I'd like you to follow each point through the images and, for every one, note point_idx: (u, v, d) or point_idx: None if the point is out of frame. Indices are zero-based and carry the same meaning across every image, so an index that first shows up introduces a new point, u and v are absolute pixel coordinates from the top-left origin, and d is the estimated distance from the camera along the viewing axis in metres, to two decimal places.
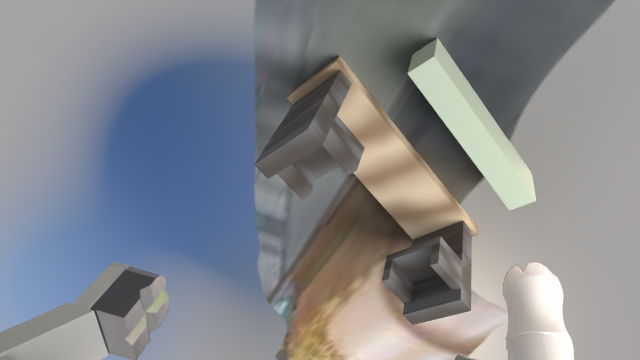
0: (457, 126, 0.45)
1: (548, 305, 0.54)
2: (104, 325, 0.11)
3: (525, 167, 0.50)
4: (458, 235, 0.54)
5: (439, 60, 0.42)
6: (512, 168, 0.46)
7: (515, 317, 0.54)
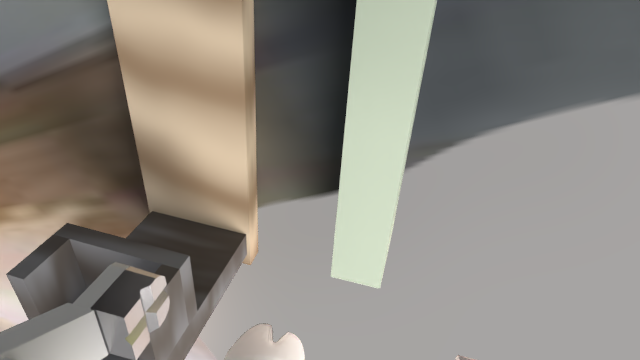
0: (366, 85, 0.19)
1: None
2: (104, 325, 0.11)
3: (393, 223, 0.28)
4: (222, 255, 0.29)
5: None
6: (390, 222, 0.23)
7: None
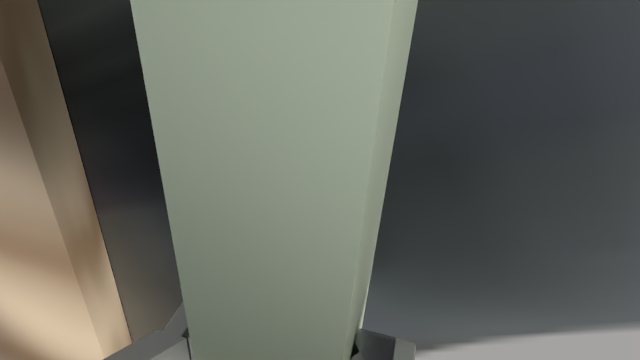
0: (228, 354, 0.08)
1: None
2: None
3: None
4: None
5: None
6: None
7: None
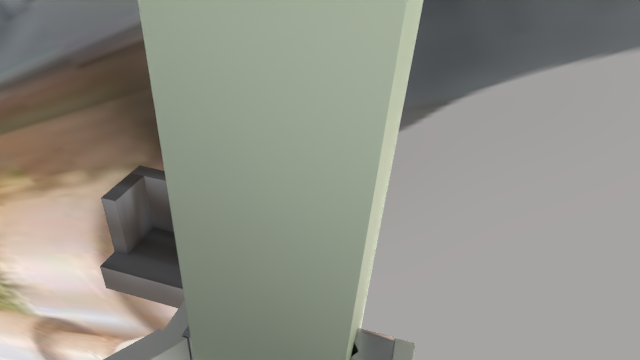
0: (230, 356, 0.08)
1: None
2: None
3: None
4: None
5: None
6: None
7: None
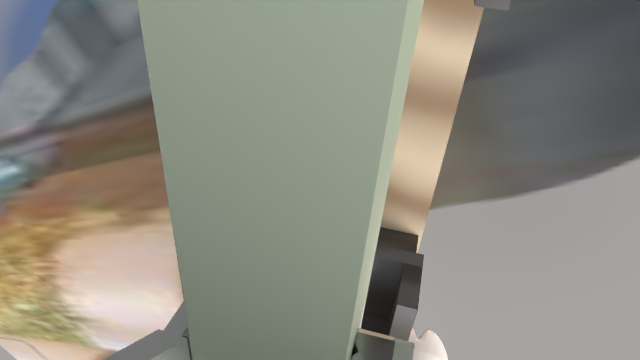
0: (228, 357, 0.08)
1: None
2: None
3: None
4: None
5: None
6: None
7: None
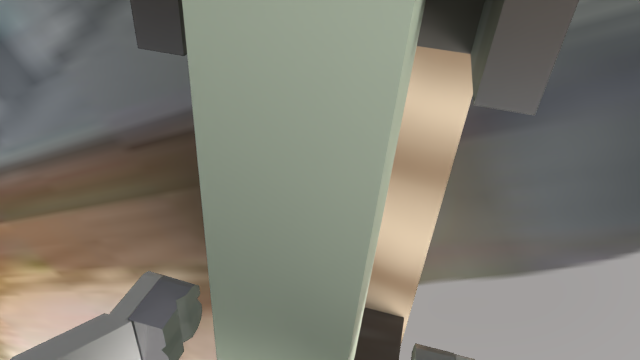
0: (247, 319, 0.09)
1: None
2: (141, 336, 0.11)
3: None
4: (388, 348, 0.25)
5: None
6: None
7: None
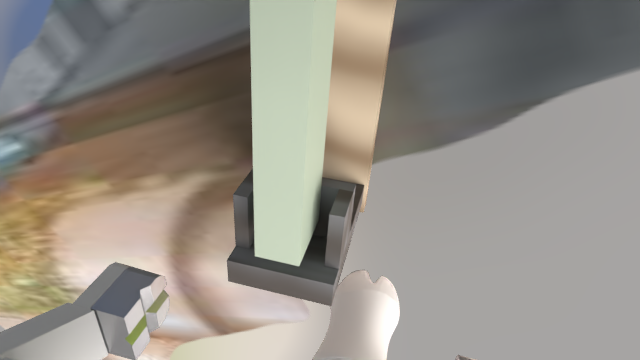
0: (266, 72, 0.21)
1: (383, 336, 0.41)
2: (104, 325, 0.11)
3: (317, 208, 0.30)
4: None
5: None
6: (301, 201, 0.25)
7: (344, 333, 0.39)
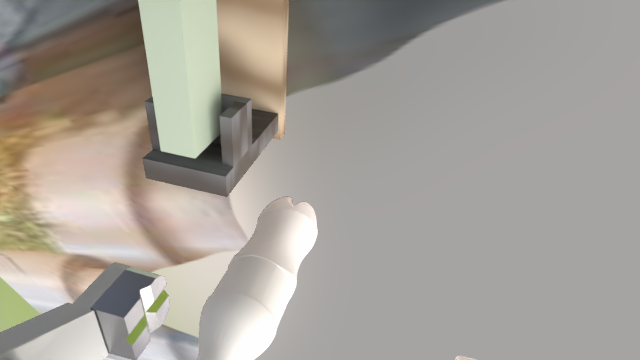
0: None
1: (295, 247, 0.47)
2: (104, 325, 0.11)
3: (217, 117, 0.37)
4: (264, 122, 0.43)
5: None
6: (188, 98, 0.31)
7: (259, 240, 0.45)
